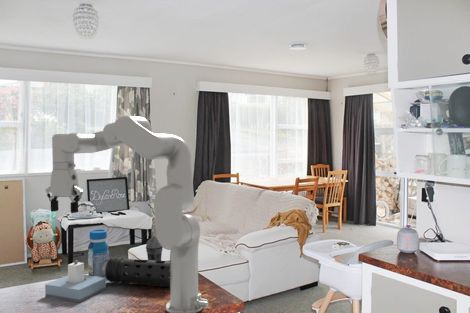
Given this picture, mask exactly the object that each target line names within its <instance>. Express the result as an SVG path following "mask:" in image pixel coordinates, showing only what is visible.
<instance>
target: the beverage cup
mask: <svg viewBox="0 0 470 313" xmlns="http://www.w3.org/2000/svg"><path fill="white" fill-rule="evenodd" d="M153 236H154V237H151V238H149V239H148V240H147V241H146V245H145V250H146V256H147V260H156V261H162V254H163V249H164V248H163V247H162V246H161V245H160V244H159V242H158V239H157V236H156V227H155V226H154V235H153Z"/></svg>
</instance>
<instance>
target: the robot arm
mask: <svg viewBox="0 0 470 313" xmlns="http://www.w3.org/2000/svg"><path fill="white" fill-rule="evenodd" d="M51 142H52V144H51V145H52V147H51V148H52V152H51V154H52V170H51V175H50V186H48V187H47V188H46V189H45V193H46V195H47V196H46V197H47V198H48V200H49V202H50V212H52V213H53V212H58V211H59V200H58V198H59V197H60V198H69V200H70V201H71V202H70V213H71V214H75V213H78V212H79V202H80V200H81V199H82V196H83V194H84V190H83V189H82V188H80V187H79V186H80V185H79V179H78V178H79V177H78V173H77V170H76V169H75V168H76V163H75V154H93V153H99V152H103V151H107V150H108V151H109V150H111V149H113V148H116V147H120V146H127V147H128V148H129V149H130V150H132V151H134V152H135V153H137V154H138V155H139V156H140V157H142V158H144V159H146V160H162V159H163V160H165V159H166V160H167V162H168V163H167V165H166V173H165V174H166V184H167V185H164V186H162V187H161V188H159V189H158V190H157V191H156V194H155V196H154V200H153V210H154V211H153V212H154V223H155V225H154V228H155V227H156V238H157V239H158V242H159V244H160V245H161V246H162V247H163V248H162V249H165V250H166V251H167V250H169V251H170V252H169V261H170V271H169V272H170V277H169V278H170V287H169V293H170V294H169V299H170V300H169V301H168V302H167V303H166V304H165V311H167V313H199V312H200V311H202V309H203V308H206V309H207V308H208V307H209V305H210V304H209V299H207V298H203V297H202V293H200V292H199V244H200V236H201V226H200V222H199V221H198V219H197V218H196V217H195V216H193V215H191V214H183V212H185V211H187V210H189V209H191V208H192V207H193V205H194V202H195V193H194V182H193V173H192V172H193V171H192V155H191V150H190V148H189V144H187V142H186V141H185V139H183V138H181V137H180V136H177V135H174V134H170V133H153V132H152V125H151V123H150V121H149V120H148V119H146V118H145V117H142V116H134V115H122V116H119V117H118V118H117V119H115V121H114V122H112V123H107V124H105V126H104V127H103V129H102V130H101V131H96V132H92V133H89V132H72V133H55V134H53V135H52V138H51Z"/></svg>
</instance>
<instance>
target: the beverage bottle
mask: <svg viewBox="0 0 470 313" xmlns="http://www.w3.org/2000/svg"><path fill="white" fill-rule="evenodd" d="M107 234H108V233H107V230H106V229H92V230H90V231H89V240H90V241H89V244H88V246H87V250H88V253H87V257H88V258H87V262H88V275H90V276H97V277H103V276H102V267H103V264H104V262H105V261H106V260H107V259H110V251H109V248H110V247H109V243H108V241H107V240H106V239H107V238H108V237H107V236H108V235H107Z"/></svg>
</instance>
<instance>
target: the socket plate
mask: <svg viewBox="0 0 470 313" xmlns="http://www.w3.org/2000/svg"><path fill="white" fill-rule="evenodd" d="M44 288H45V289H44V291H45V292H44V294H45V296H44V297H47V298H53V299H57V300H62V301H63V300H64V301H70V302H74V303H79V304H81V303H82V302H84V301H85V300H87V299H90V298H92V297H93V296H96V295H99V294H100V293H102V292H103V291H106V290H107V280H106V278H104V277H97V276H90V275H89V274H84V281H83V282H80V283H78V284H72V283H68V274H67V275H65V276H63V277H60V278H58V279H57V278H56V279H55V280H52V281H51V282H47V283H45V285H44Z"/></svg>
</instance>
